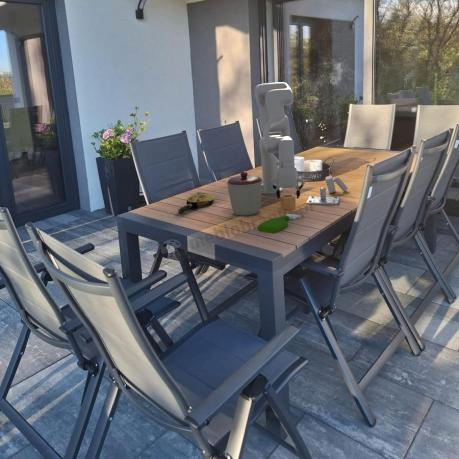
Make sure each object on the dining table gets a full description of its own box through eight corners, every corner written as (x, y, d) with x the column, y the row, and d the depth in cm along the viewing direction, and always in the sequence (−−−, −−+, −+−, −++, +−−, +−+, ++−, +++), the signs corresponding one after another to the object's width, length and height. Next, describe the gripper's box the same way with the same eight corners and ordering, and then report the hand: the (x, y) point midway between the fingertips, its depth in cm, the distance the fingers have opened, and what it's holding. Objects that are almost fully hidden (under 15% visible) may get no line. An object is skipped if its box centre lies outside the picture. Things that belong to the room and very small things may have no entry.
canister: (253, 220, 232) (250, 176, 225) (221, 216, 241) (218, 174, 235) (270, 209, 246) (268, 168, 240) (240, 206, 256) (237, 167, 249)
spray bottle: (255, 231, 217) (283, 216, 236) (276, 234, 211) (303, 219, 229) (255, 225, 216) (283, 211, 235) (276, 228, 210) (303, 213, 228)
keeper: (305, 204, 251) (305, 191, 248) (309, 198, 261) (309, 185, 259) (337, 204, 246) (337, 191, 244) (340, 198, 257) (340, 185, 254)
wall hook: (348, 192, 265) (344, 174, 262) (330, 197, 268) (325, 179, 265) (348, 188, 272) (344, 171, 270) (330, 193, 275) (325, 176, 273)
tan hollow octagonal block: (280, 209, 246) (279, 197, 244) (282, 205, 252) (282, 194, 250) (293, 209, 244) (293, 197, 242) (296, 205, 250) (296, 194, 248)
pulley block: (168, 201, 251) (199, 188, 275) (168, 212, 253) (198, 197, 278) (191, 207, 245) (221, 193, 269) (191, 218, 247) (220, 203, 272)
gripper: (268, 166, 240) (269, 199, 245) (303, 165, 234) (304, 199, 239) (271, 163, 247) (273, 196, 252) (305, 162, 241) (306, 196, 246)
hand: (288, 198), depth 245 cm, fingers open, 9 cm apart
